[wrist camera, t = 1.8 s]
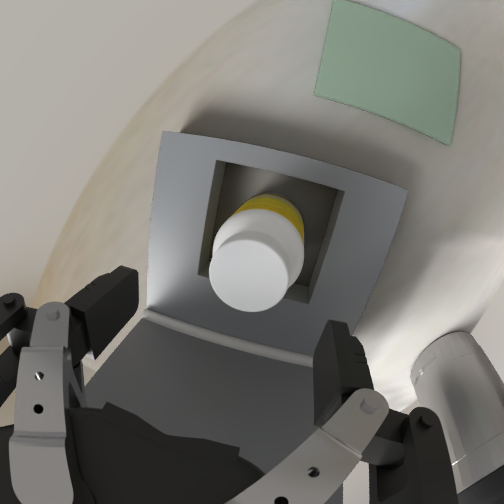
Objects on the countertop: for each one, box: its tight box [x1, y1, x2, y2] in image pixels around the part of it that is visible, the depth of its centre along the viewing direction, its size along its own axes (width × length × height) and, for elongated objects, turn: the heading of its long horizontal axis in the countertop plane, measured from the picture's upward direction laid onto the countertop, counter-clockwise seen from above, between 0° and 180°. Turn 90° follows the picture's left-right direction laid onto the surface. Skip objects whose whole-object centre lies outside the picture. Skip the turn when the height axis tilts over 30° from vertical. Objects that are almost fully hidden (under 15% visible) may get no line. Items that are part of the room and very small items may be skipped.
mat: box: [314, 0, 460, 146], centre depth 15 cm, size 12×10×1 cm
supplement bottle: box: [209, 193, 304, 312], centre depth 18 cm, size 5×5×10 cm
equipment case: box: [85, 131, 408, 504], centre depth 14 cm, size 18×17×19 cm
